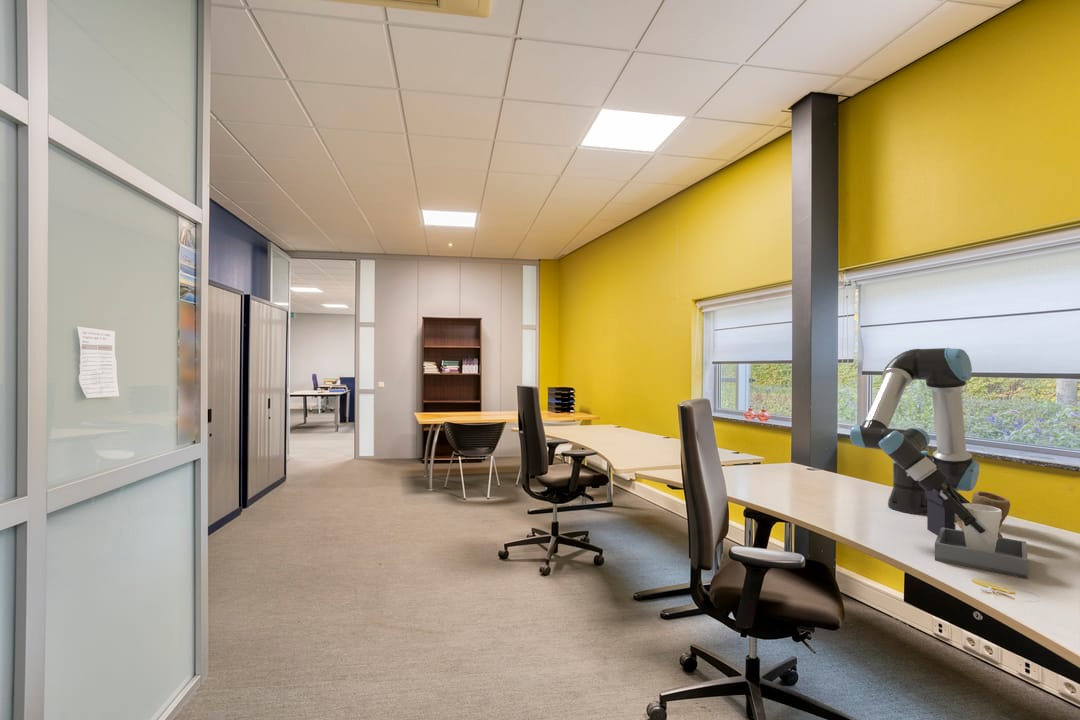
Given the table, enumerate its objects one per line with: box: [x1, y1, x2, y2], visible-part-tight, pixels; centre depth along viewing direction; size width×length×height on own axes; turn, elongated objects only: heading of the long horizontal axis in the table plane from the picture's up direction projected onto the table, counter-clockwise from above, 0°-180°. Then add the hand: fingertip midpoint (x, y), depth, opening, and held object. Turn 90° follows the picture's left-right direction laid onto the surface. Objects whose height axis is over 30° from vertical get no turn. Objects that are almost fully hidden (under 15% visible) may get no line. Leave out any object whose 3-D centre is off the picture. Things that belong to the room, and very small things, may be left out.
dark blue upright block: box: [925, 489, 957, 536], centre depth 176 cm, size 11×4×15 cm, turn 168°
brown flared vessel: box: [956, 490, 1011, 538], centre depth 174 cm, size 15×12×15 cm
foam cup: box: [961, 502, 1002, 553], centre depth 154 cm, size 10×9×13 cm
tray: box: [934, 527, 1029, 580], centre depth 154 cm, size 20×20×5 cm
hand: (994, 537), depth 152 cm, fingers closed on foam cup, 9 cm apart
